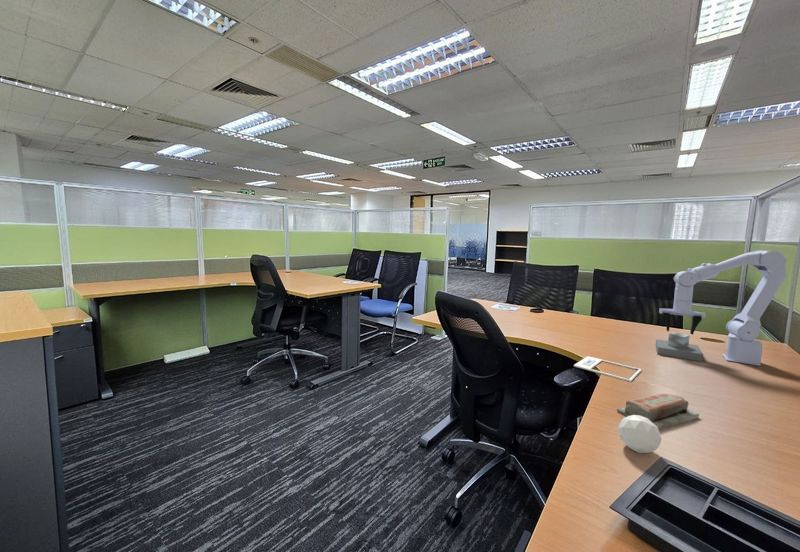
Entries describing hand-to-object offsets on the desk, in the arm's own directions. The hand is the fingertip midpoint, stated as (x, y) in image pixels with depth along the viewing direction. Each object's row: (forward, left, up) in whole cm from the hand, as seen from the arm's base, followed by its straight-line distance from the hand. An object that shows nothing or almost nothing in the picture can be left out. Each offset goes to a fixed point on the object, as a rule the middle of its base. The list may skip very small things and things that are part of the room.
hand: (679, 332), depth 138 cm
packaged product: (+10, +68, -10) cm, 70 cm away
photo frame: (+23, +38, -10) cm, 45 cm away
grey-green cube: (0, 0, -6) cm, 6 cm away
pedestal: (0, 0, -9) cm, 9 cm away
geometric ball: (+14, +90, -9) cm, 92 cm away
